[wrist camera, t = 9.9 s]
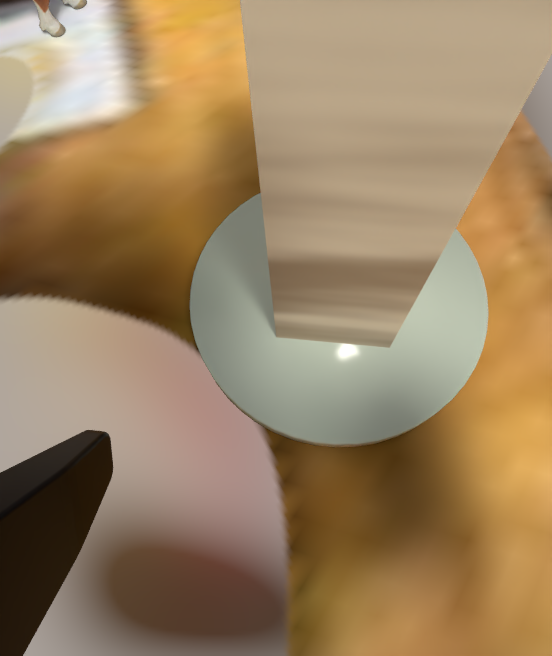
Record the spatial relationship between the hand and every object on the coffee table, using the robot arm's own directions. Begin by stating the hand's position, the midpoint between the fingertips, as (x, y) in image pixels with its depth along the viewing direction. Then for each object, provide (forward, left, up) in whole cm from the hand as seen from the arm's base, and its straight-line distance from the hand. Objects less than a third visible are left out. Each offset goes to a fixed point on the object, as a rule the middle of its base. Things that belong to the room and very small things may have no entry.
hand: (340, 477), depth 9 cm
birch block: (+8, -1, -8) cm, 11 cm away
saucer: (+8, -1, -9) cm, 12 cm away
